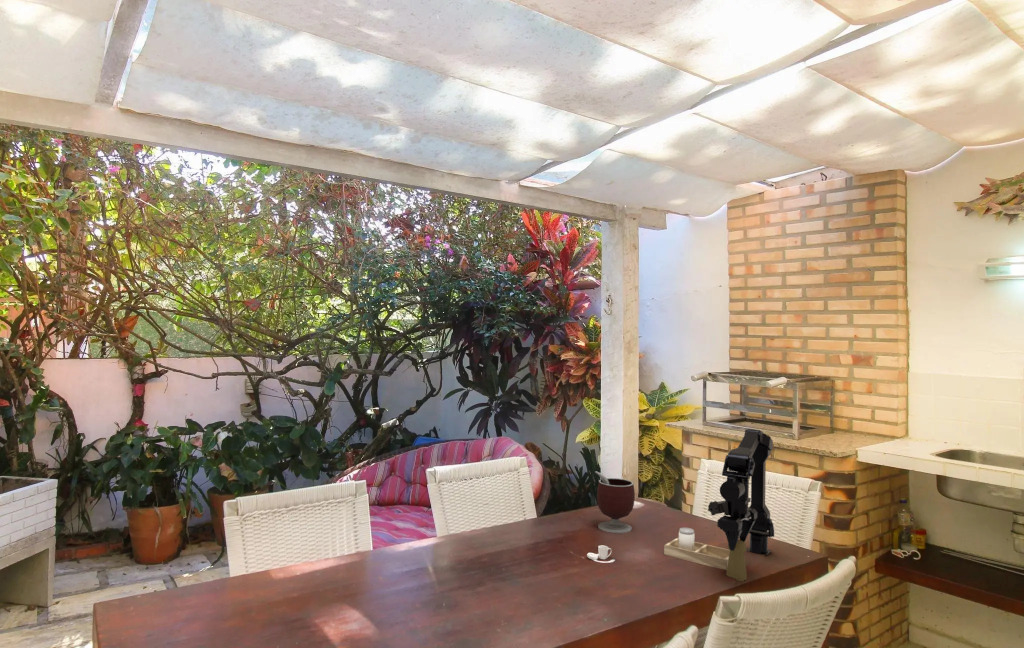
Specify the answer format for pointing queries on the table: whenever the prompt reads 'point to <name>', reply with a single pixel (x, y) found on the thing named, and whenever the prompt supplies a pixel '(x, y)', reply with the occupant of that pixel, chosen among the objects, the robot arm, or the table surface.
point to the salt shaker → (686, 539)
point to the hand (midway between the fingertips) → (737, 546)
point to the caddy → (699, 554)
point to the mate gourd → (615, 502)
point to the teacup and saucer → (601, 554)
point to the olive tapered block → (737, 562)
